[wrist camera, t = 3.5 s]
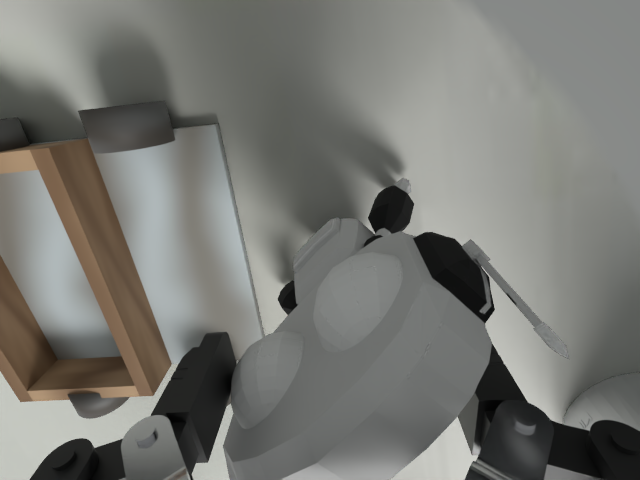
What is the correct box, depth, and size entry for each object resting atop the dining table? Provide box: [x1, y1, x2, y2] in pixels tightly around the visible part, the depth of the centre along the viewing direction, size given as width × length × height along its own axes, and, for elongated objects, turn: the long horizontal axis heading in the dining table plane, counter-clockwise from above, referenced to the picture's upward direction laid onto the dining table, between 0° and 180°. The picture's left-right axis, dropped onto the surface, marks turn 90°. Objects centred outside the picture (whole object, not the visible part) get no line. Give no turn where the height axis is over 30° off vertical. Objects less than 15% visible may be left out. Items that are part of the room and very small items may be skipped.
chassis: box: [0, 101, 265, 418], centre depth 22 cm, size 18×20×4 cm
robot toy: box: [223, 178, 569, 480], centre depth 15 cm, size 12×4×15 cm, turn 138°
